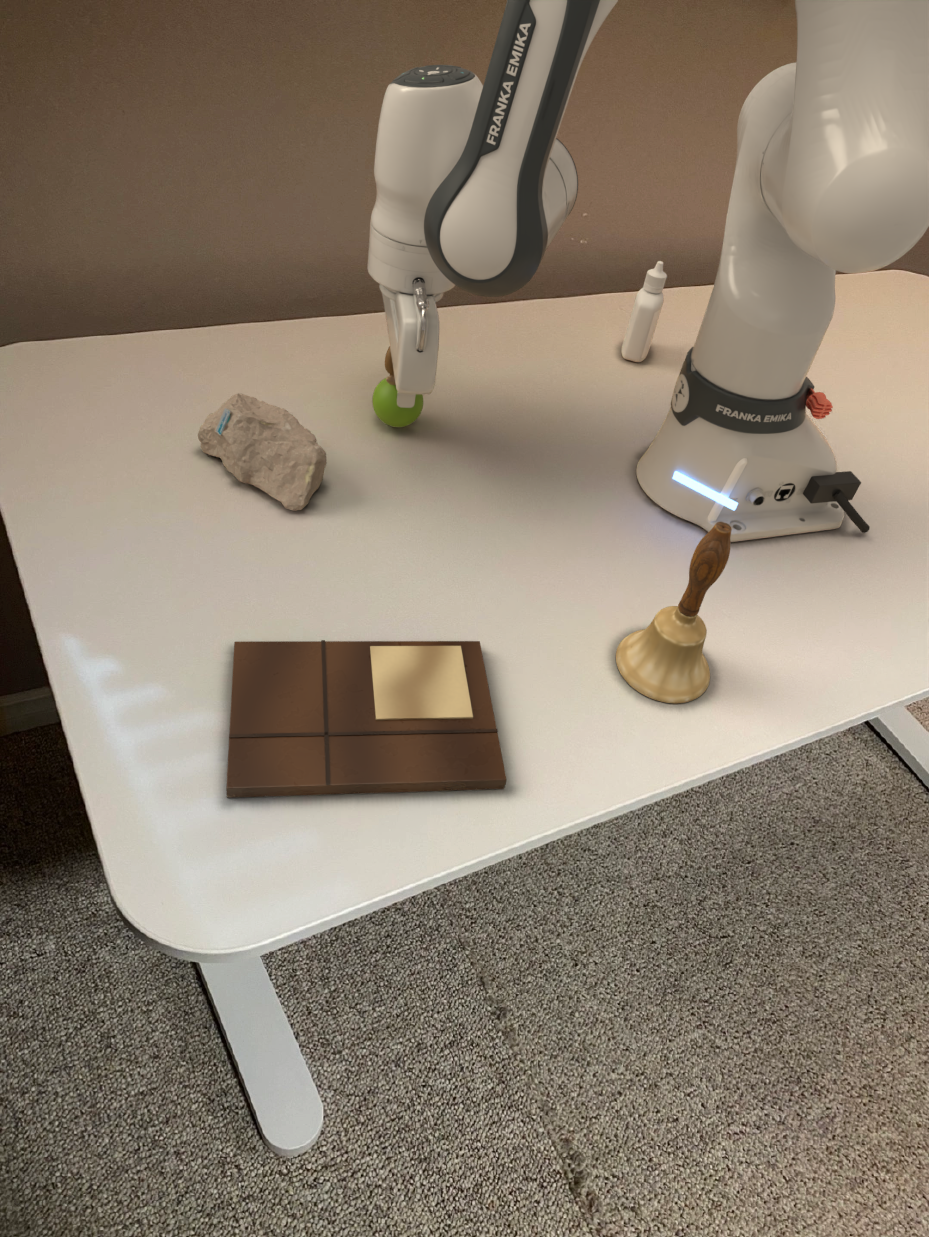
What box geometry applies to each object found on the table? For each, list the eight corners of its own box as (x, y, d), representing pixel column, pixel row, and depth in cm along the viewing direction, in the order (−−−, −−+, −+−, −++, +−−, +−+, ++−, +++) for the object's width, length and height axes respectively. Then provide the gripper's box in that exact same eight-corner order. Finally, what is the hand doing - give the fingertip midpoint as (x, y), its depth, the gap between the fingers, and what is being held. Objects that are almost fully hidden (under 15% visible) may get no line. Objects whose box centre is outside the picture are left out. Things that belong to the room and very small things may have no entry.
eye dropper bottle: (660, 354, 120) (688, 264, 112) (634, 366, 117) (660, 274, 109) (634, 339, 122) (660, 250, 114) (607, 350, 119) (632, 259, 111)
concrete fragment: (283, 521, 87) (283, 469, 83) (191, 450, 93) (186, 398, 88) (339, 492, 91) (342, 441, 87) (247, 426, 97) (246, 375, 92)
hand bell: (724, 700, 79) (797, 559, 67) (633, 707, 77) (693, 564, 65) (688, 629, 84) (750, 488, 73) (602, 634, 82) (653, 490, 71)
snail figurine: (435, 419, 103) (448, 318, 94) (401, 443, 98) (412, 340, 90) (395, 399, 104) (405, 299, 96) (360, 423, 100) (367, 319, 92)
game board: (477, 650, 79) (480, 639, 78) (504, 789, 69) (507, 778, 68) (235, 651, 75) (234, 639, 74) (227, 798, 65) (226, 786, 64)
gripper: (461, 312, 82) (442, 443, 92) (435, 216, 96) (421, 338, 106) (390, 307, 81) (378, 440, 90) (374, 210, 95) (366, 335, 104)
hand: (401, 384), depth 98 cm, fingers open, 6 cm apart
